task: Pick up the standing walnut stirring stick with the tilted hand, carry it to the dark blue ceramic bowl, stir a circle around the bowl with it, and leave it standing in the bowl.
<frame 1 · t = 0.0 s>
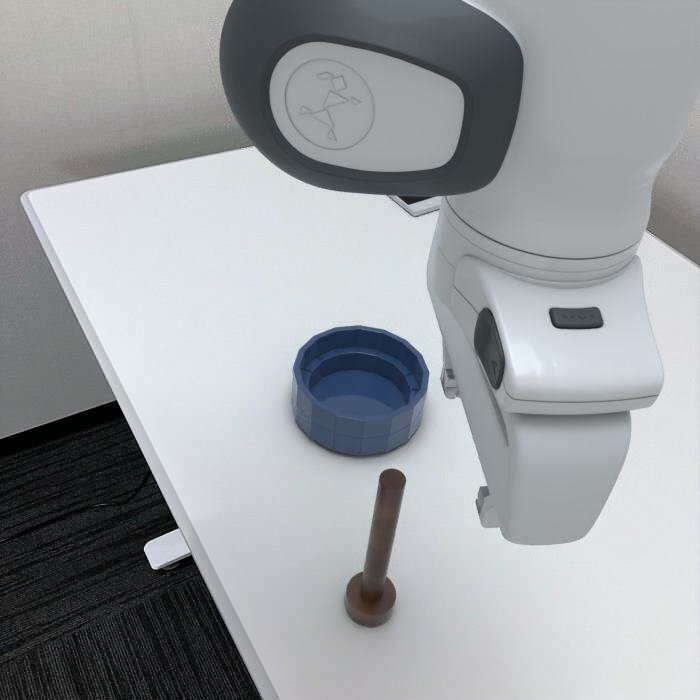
hand: (472, 448, 45), 29 cm above the table, tool pointing down, fingers open, 8 cm apart
stick: (369, 604, 69), on the table
cup: (480, 285, 106), on the table
bowl: (356, 408, 87), on the table
smartphone: (402, 188, 123), on the table
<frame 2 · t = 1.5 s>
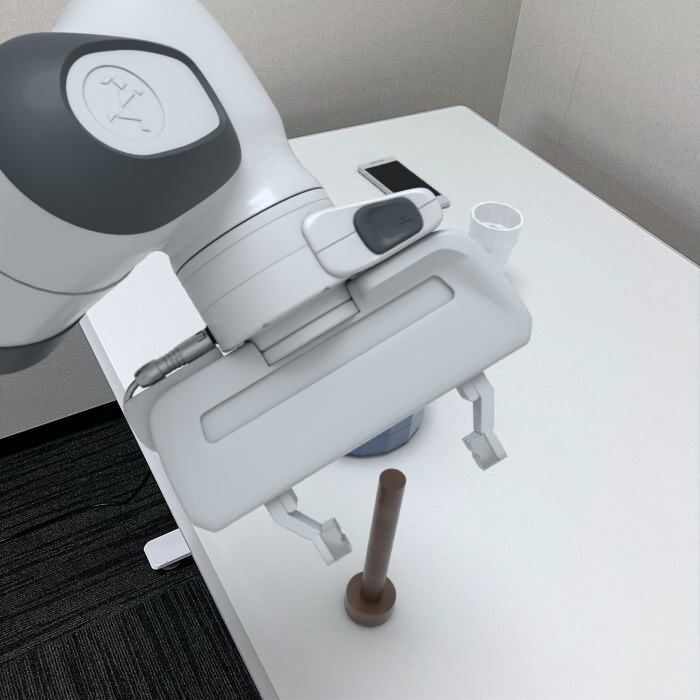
hand: (417, 509, 41), 30 cm above the table, tool tilted 50°, fingers open, 8 cm apart
nothing on the table moved.
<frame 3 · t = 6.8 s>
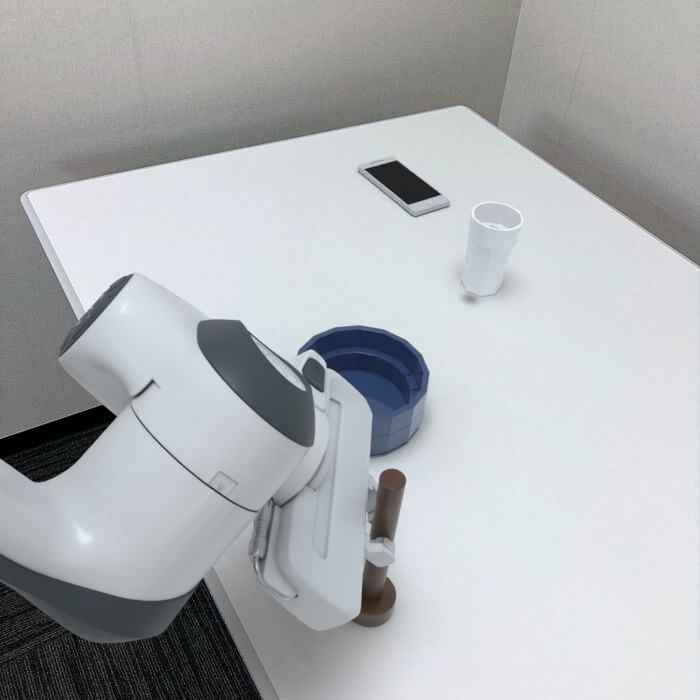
hand: (389, 538, 62), 10 cm above the table, tool tilted 45°, fingers closed on stick, 2 cm apart
stick: (369, 604, 69), on the table, touching gripper
everything else where it was.
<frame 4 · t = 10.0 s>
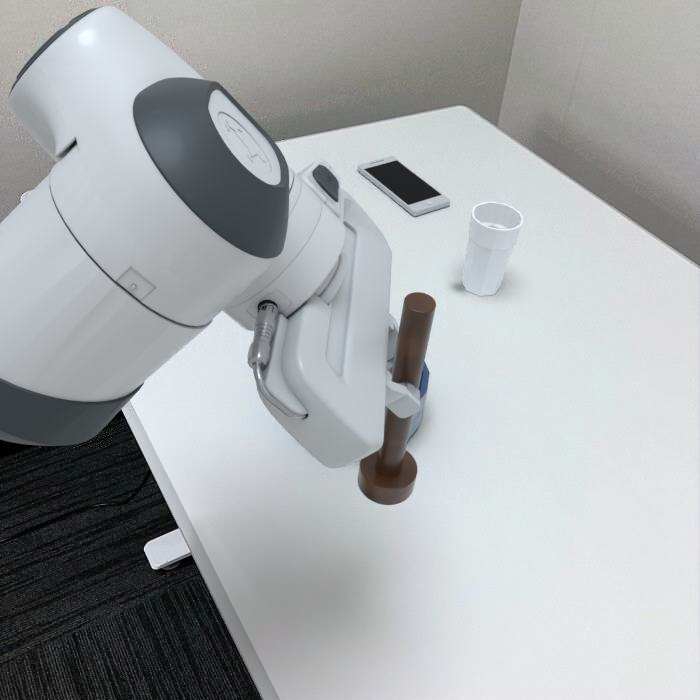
hand: (412, 388, 53), 26 cm above the table, tool tilted 45°, fingers closed on stick
stick: (385, 482, 60), point 15 cm above the table, touching gripper
everything else where it was.
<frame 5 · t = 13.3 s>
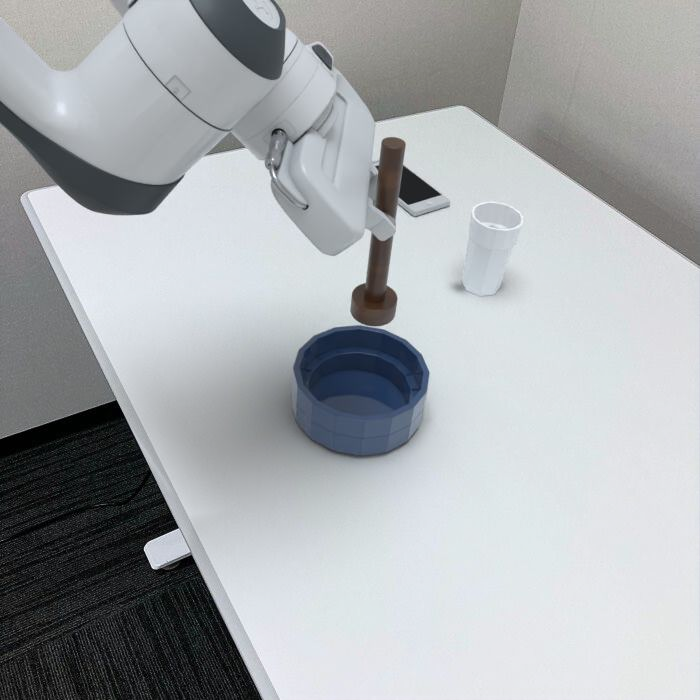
hand: (390, 222, 68), 26 cm above the table, tool tilted 45°, fingers closed on stick
stick: (372, 312, 75), point 15 cm above the table, touching gripper
everything else where it was.
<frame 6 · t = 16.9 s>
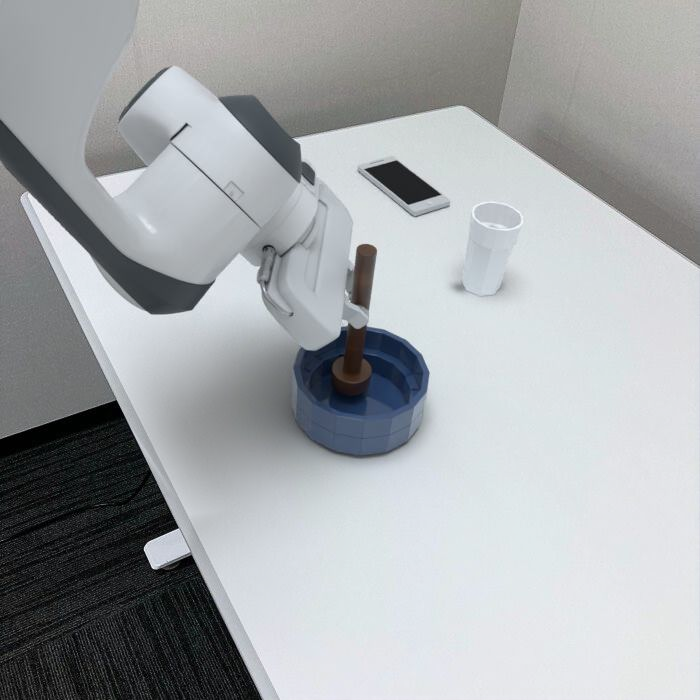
hand: (365, 310, 79), 13 cm above the table, tool tilted 45°, fingers closed on stick, 2 cm apart
stick: (350, 381, 86), point 2 cm above the table, touching gripper
everything else where it was.
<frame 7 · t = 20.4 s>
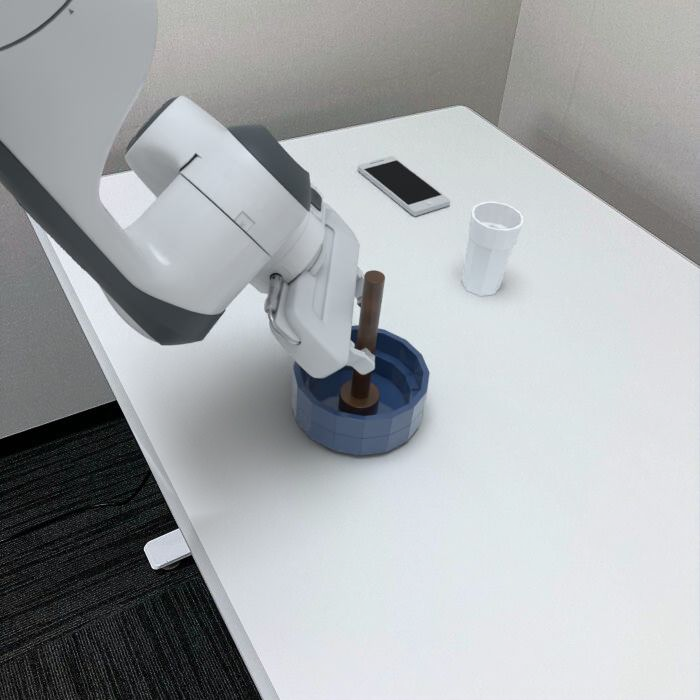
hand: (372, 335, 79), 11 cm above the table, tool tilted 45°, fingers open, 8 cm apart
stick: (358, 405, 86), point 1 cm above the table, touching bowl
everything else where it was.
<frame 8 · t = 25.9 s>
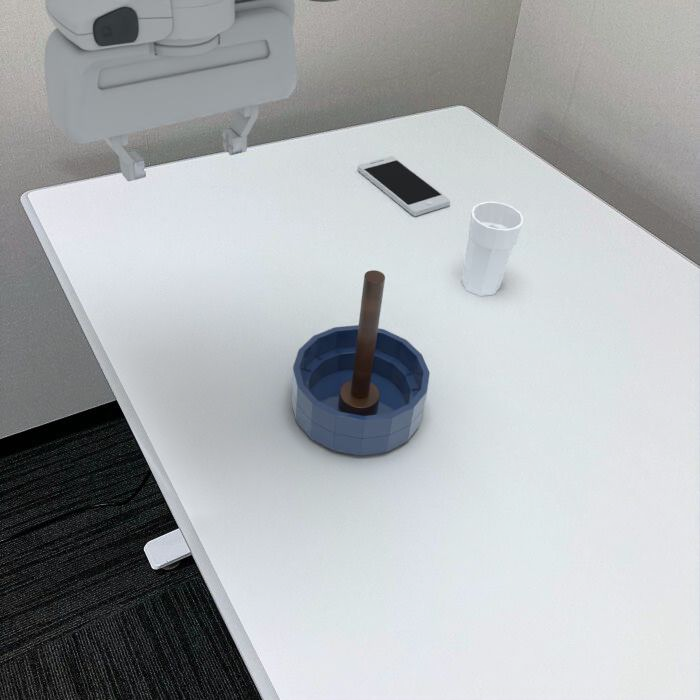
hand: (185, 163, 66), 29 cm above the table, tool pointing down, fingers open, 8 cm apart
nothing on the table moved.
at the end: stick inside the target area in the bowl (0.2 cm from its centre), point 0.6 cm above the bowl's base; the gripper is holding nothing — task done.
